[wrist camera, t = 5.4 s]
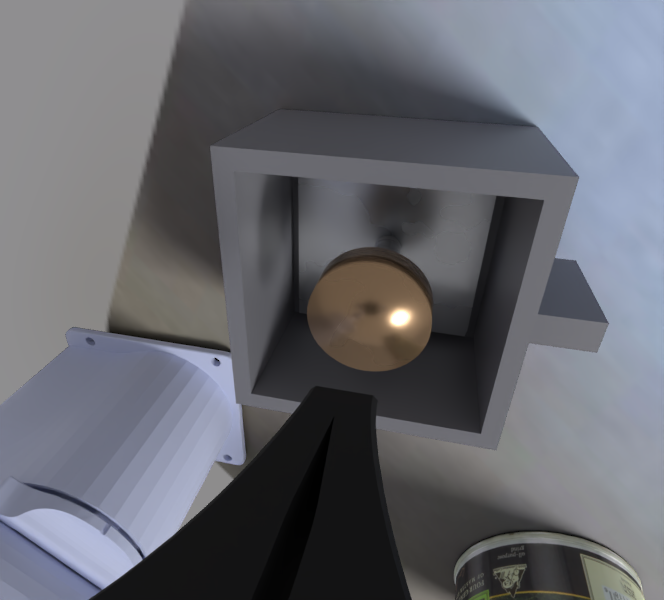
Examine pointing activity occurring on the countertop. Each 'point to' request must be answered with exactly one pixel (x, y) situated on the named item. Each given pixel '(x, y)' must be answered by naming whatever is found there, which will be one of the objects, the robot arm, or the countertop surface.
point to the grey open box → (441, 349)
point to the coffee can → (543, 570)
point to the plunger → (387, 267)
